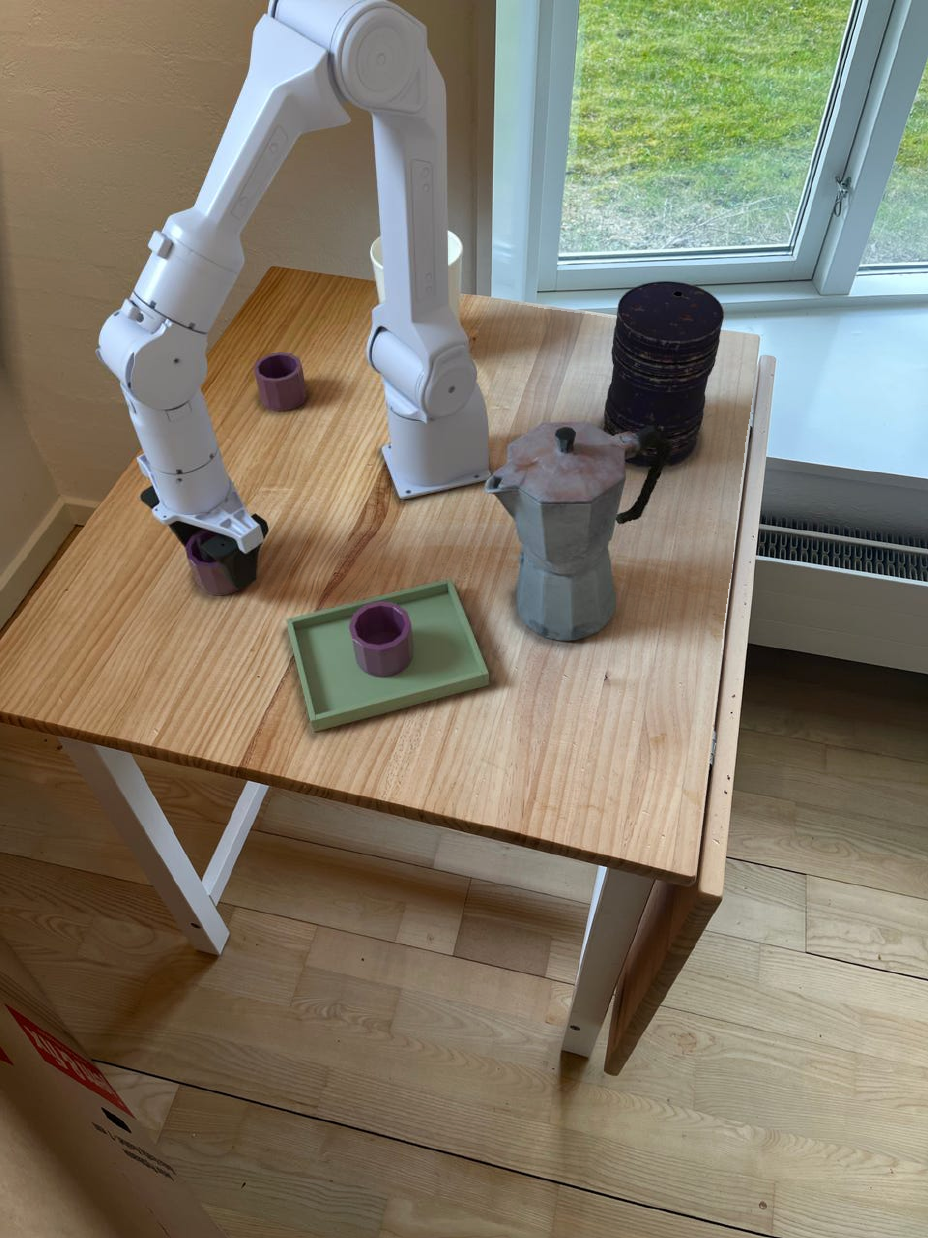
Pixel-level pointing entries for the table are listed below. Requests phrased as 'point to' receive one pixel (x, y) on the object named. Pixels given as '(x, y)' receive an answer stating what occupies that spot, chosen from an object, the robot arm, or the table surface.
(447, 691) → the tray
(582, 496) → the moka pot
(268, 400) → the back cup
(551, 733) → the table surface
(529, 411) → the table surface
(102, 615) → the table surface
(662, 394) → the storage jar
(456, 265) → the white paper cup
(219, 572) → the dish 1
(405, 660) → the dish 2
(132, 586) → the table surface
